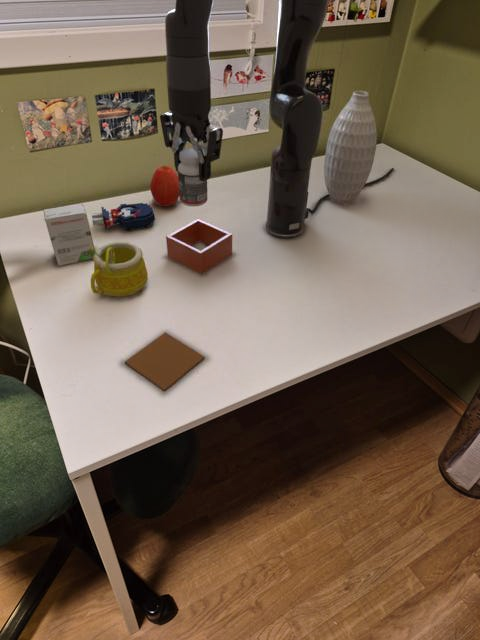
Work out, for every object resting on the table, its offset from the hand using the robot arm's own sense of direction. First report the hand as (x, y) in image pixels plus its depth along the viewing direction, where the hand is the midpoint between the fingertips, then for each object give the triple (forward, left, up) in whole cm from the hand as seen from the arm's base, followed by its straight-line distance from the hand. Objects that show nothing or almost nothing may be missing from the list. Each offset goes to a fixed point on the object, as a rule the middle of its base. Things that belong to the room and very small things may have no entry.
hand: (192, 174), depth 92 cm
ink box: (+16, -23, -22) cm, 35 cm away
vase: (-50, +9, -22) cm, 55 cm away
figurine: (-1, -26, -22) cm, 34 cm away
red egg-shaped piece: (-16, -26, -22) cm, 37 cm away
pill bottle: (0, 0, -6) cm, 6 cm away
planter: (-3, -2, -21) cm, 22 cm away
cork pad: (+26, +16, -21) cm, 37 cm away
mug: (+17, -7, -22) cm, 28 cm away
